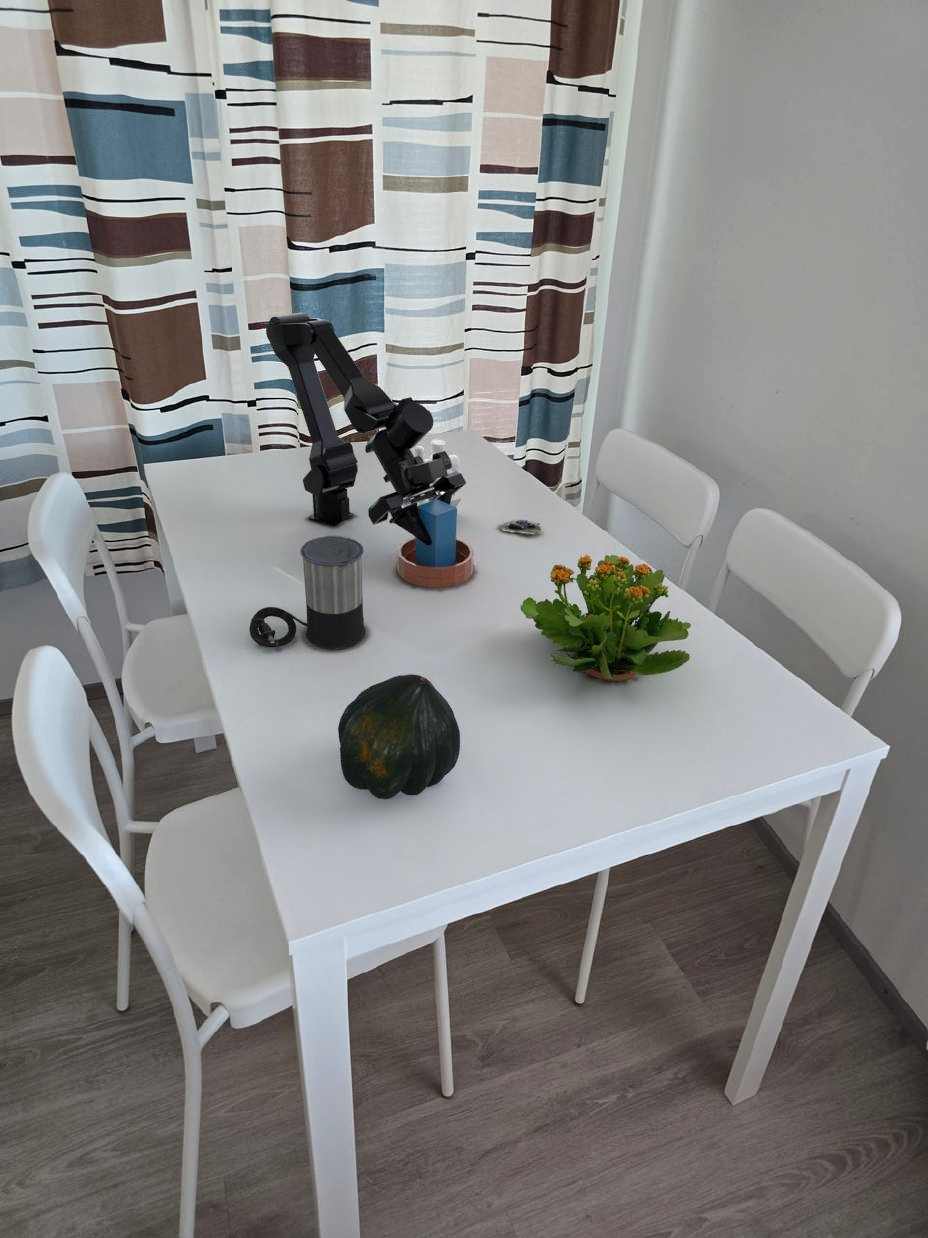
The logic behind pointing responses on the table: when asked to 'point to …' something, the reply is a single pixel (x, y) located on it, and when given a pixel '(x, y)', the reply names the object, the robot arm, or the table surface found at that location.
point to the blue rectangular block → (437, 534)
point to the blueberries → (522, 527)
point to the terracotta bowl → (434, 575)
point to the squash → (398, 737)
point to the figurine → (438, 447)
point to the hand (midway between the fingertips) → (441, 540)
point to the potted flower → (610, 620)
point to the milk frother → (323, 597)
